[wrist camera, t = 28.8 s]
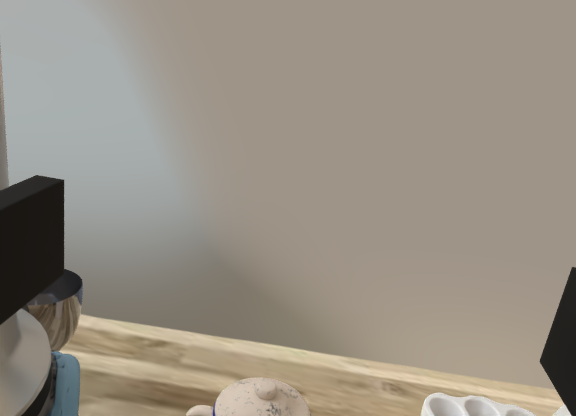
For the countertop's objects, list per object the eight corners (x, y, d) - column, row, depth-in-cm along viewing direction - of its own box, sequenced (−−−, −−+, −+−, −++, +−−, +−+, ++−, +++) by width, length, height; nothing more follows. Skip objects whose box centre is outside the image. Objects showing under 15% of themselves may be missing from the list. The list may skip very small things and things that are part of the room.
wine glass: (56, 375, 61) (55, 260, 56) (95, 409, 57) (98, 288, 52) (-15, 407, 55) (-23, 281, 50) (23, 449, 51) (19, 315, 46)
